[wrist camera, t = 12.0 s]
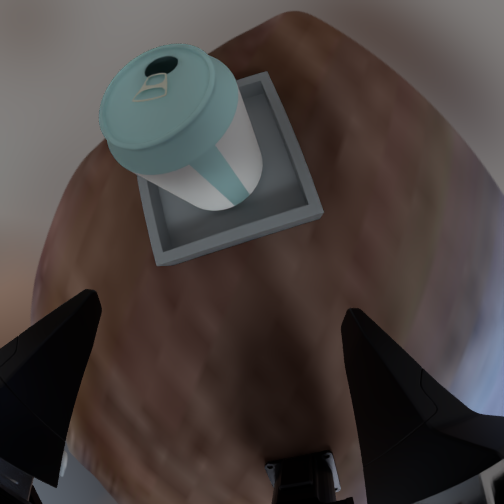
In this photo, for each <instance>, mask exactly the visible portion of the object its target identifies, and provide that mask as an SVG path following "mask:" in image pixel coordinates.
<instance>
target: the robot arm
mask: <svg viewBox="0 0 504 504" xmlns="http://www.w3.org/2000/svg"><path fill="white" fill-rule="evenodd" d="M101 313H102V307H101V304H100V301H99V298H98V294H97V292H96V291H95V290H91V289H85V290H83V291H82V292H80V293H79V294H77V295H76V296H74V297H73V298H71V299H70V300H68V301H67V302H65V303H64V304H62V305H61V306H59V307H58V308H57V309H55V310H54V311H52V312H51V313H49V314H48V315H46V316H45V317H44V318H42V319H41V320H39V321H38V322H36V323H35V324H34V325H32V326H31V327H29V328H28V329H27V330H25V331H24V332H23V333H21V334H20V335H19V336H17V337H16V338H14V339H13V340H12V341H10V342H9V343H8V344H6V345H5V346H3V347H2V348H0V504H42V502H41V500H40V498H39V496H38V494H37V492H36V490H35V488H34V486H33V485H32V483H33V479H34V477H35V478H37V479H38V480H40V481H42V482H44V483H47V484H49V485H51V486H53V487H55V488H57V485H58V479H59V472H60V467H61V461H62V456H63V451H64V446H65V441H66V436H67V432H68V428H69V424H70V420H71V416H72V412H73V408H74V405H75V401H76V398H77V394H78V391H79V387H80V384H81V381H82V378H83V374H84V371H85V368H86V365H87V362H88V359H89V356H90V354H91V351H92V347H93V344H94V340H95V336H96V332H97V328H98V324H99V320H100V317H101ZM341 335H342V343H343V353H344V363H345V369H346V374H347V379H348V384H349V389H350V394H351V399H352V404H353V409H354V415H355V420H356V426H357V432H358V438H359V444H360V450H361V457H362V463H363V467H364V468H363V471H364V479H365V487H366V495H367V504H504V417H503V416H492V415H484V414H479V413H476V412H474V411H472V410H471V409H469V408H468V407H467V406H466V405H464V404H463V403H462V402H461V401H459V400H458V399H457V398H456V397H455V396H453V395H452V394H451V393H450V392H449V391H447V390H446V389H445V388H444V387H443V386H442V385H440V384H439V383H438V382H437V381H436V380H435V379H434V378H433V377H432V376H431V375H429V374H428V373H427V372H426V371H425V370H424V369H423V368H422V367H421V366H420V365H419V364H418V363H417V362H416V361H415V360H414V359H413V358H412V357H411V356H410V355H409V354H408V353H407V352H406V351H405V350H404V349H402V348H401V347H400V346H399V345H398V344H397V343H396V342H395V341H394V340H393V339H392V338H391V337H390V336H389V335H388V334H387V333H386V332H385V331H383V330H382V329H381V328H380V327H379V326H378V325H377V324H376V323H375V322H374V321H373V320H372V319H371V318H369V317H368V316H367V315H366V314H365V313H364V312H363V311H362V310H361V309H359V308H349V309H348V310H347V312H346V315H345V317H344V320H343V322H342V325H341ZM325 455H328V456H325ZM269 466H272V467H269ZM265 470H266V472H267V474H268V477H269V479H270V481H271V483H272V486H273V488H274V491H273V498H272V504H354V501H353V497H349V498H346V499H344V500H340V501H336V495H335V492H338V491H339V490H340V489H341V487H340V483H339V478H338V474H337V470H336V466H335V462H334V458H333V454H332V452H331V451H329V450H327V451H322V452H318V453H314V454H309V455H305V456H300V457H294V458H289V459H283V460H277V461H270V462H267V463H266V464H265Z"/></svg>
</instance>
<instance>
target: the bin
mask: <svg viewBox="0 0 504 504" xmlns="http://www.w3.org/2000/svg"><path fill="white" fill-rule="evenodd" d="M236 83H237V85H238V88H239V91H240V94H241V96H242V99H243V102H244V105H245V108H246V111H247V113H248V116H249V119H250V122H251V125H252V128H253V131H254V134H255V137H256V140H257V143H258V146H259V149H260V152H261V155H262V161H263V167H262V173H261V177H260V180H259V182H258V184H257V186H256V188H255V189H254V191H253V192H252V193H251V194H250V195H249V196H248V197H247V198H246V199H245V200H244V201H242V202H241V203H239V204H237V205H236V206H233V207H231V208H228V209H224V210H218V211H211V210H204V209H201V208H198V207H196V206H194V205H192V204H191V203H189V202H187V201H185V200H183V199H181V198H180V197H178V196H176V195H174V194H172V193H170V192H169V191H167V190H165V189H163V188H161V187H159V186H157V185H156V184H154V183H152V182H150V181H148V180H146V179H144V178H143V177H141V176H139V175H137V179H138V185H139V190H140V195H141V200H142V205H143V210H144V215H145V219H146V224H147V228H148V233H149V237H150V241H151V246H152V250H153V254H154V258H155V262H156V265H157V266H170V265H176V264H179V263H182V262H185V261H188V260H191V259H194V258H197V257H200V256H203V255H207V254H210V253H213V252H216V251H219V250H222V249H225V248H228V247H231V246H235V245H238V244H241V243H244V242H247V241H250V240H253V239H257V238H260V237H263V236H266V235H269V234H272V233H276V232H279V231H282V230H285V229H288V228H292V227H295V226H298V225H301V224H304V223H308V222H311V221H314V220H317V219H320V218H321V216H322V214H323V213H324V212H323V209H322V206H321V203H320V200H319V197H318V194H317V191H316V188H315V186H314V183H313V180H312V177H311V175H310V172H309V169H308V167H307V164H306V161H305V159H304V156H303V154H302V151H301V149H300V146H299V144H298V141H297V139H296V136H295V134H294V131H293V129H292V126H291V124H290V122H289V119H288V117H287V115H286V112H285V110H284V108H283V105H282V103H281V101H280V98H279V96H278V94H277V92H276V90H275V87H274V85H273V83H272V81H271V79H270V77H269V75H268V72H267V71H266V72H262V73H259V74H256V75H252V76H249V77H246V78H243V79H239V80H236Z"/></svg>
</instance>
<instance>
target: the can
mask: <svg viewBox="0 0 504 504" xmlns="http://www.w3.org/2000/svg"><path fill="white" fill-rule="evenodd" d="M99 125H100V128H101V131H102V133H103V135H104V137H105V138H106V139H107V143H108V146H109V149H110V151H111V153H112V155H113V156H114V158H115V159H116V160H117V162H118V163H119V164H120V165H122V166H123V167H124V168H126V169H128V170H130V171H131V172H133V173H135V174H137V175H139V176H141V177H143V178H144V179H146V180H148V181H150V182H152V183H154V184H156V185H157V186H159V187H161V188H163V189H165V190H167V191H169V192H170V193H172V194H174V195H176V196H178V197H180V198H181V199H183V200H185V201H187V202H189V203H191V204H192V205H194V206H196V207H198V208H201V209H204V210H211V211H218V210H224V209H228V208H231V207H233V206H236V205H237V204H239V203H241V202H242V201H244V200H245V199H246V198H247V197H248V196H249V195H250V194H251V193H252V192H253V191H254V189H255V188H256V186H257V184H258V182H259V180H260V177H261V173H262V167H263V161H262V155H261V152H260V149H259V146H258V143H257V140H256V137H255V134H254V131H253V128H252V125H251V122H250V119H249V116H248V113H247V111H246V108H245V105H244V102H243V99H242V96H241V94H240V91H239V88H238V85H237V83H236V80H235V78H234V76H233V74H232V72H231V71H230V70H229V69H228V68H227V66H226V65H224V64H223V63H222V62H221V61H219V60H218V59H216V58H214V57H212V56H209V55H208V54H207V53H205V52H204V51H203V50H201V49H200V48H198V47H195V46H192V45H188V44H169V45H163V46H160V47H156V48H153V49H151V50H149V51H147V52H145V53H143V54H141V55H139V56H137V57H136V58H134V59H133V60H132V61H130V62H129V63H128V64H127V65H126V66H124V67H123V68H122V69H121V70H120V72H118V74H117V75H116V76H115V77H114V78H113V80H112V81H111V83H110V84H109V86H108V87H107V89H106V91H105V93H104V96H103V99H102V101H101V105H100V110H99Z"/></svg>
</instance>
